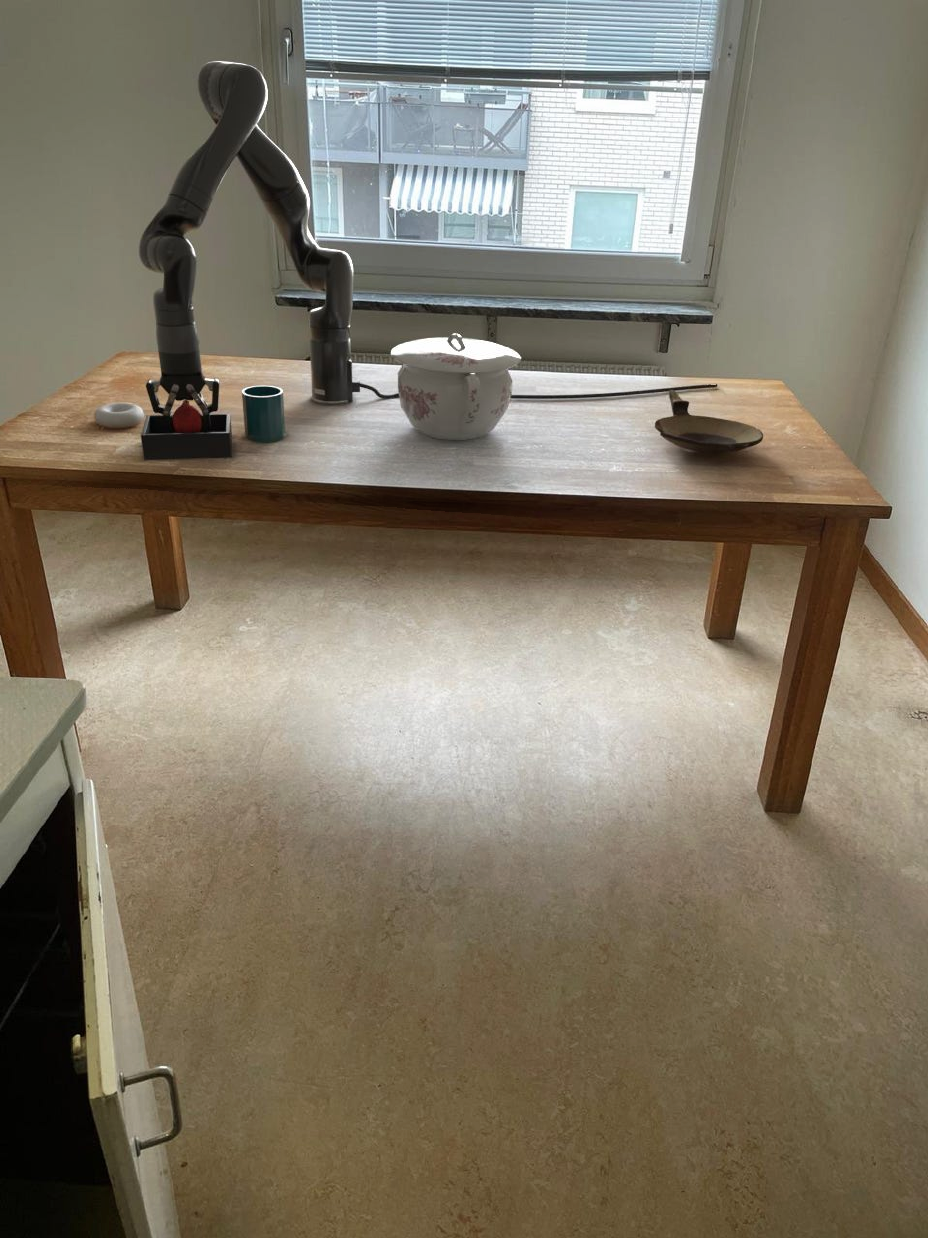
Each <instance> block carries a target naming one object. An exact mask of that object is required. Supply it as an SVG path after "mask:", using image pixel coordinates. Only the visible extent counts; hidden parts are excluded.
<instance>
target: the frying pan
mask: <svg viewBox="0 0 928 1238" xmlns="http://www.w3.org/2000/svg"><path fill="white" fill-rule="evenodd" d="M668 397H669V402H670V406H671V412H672V415H671V416H666V417H662V418H659V419H657V420H655V422H654V429H655V430H656V431H658V432H659V435H660V437H662V438H663V439H664V440H666V441H668V442H669V443H671V444H673V445H675V446H678V447H680V448H683V449H685V450H688V451H690V452H695V453H700V454H725V453H732V452H738V451H742V450H745V449H749V448H751V447H754V446H757V445H758V444H760V443H762V441H763V439H764V434H763V433H764V432H763V431H762V430H761V429H759V428H756V427H755V426H753V425H750V424H748V423H744V422H740V421H737V420H731V419H725V418H719V417H714V416H713V417H712V416H707V415H703V416H702V415H695V414H690V413H689V406H690V401H689V400H684V399H682V397H680V395H679V394H678V393H677V391H674V390H670V391H668Z"/></svg>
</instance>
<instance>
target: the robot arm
mask: <svg viewBox="0 0 928 1238" xmlns="http://www.w3.org/2000/svg"><path fill="white" fill-rule="evenodd" d="M197 89H198V90H197V91H198V95H199V98H200V101H201V103H202V105H203V108H204V109H205V111H206V114H208V116H209V118H210V120H211V121H212V122H213V124H214V125H215V127H214V129H213V130H212V132H211V133H210V134H209V135H208V137H207V138H206V139H205V141H203V143H202V144H201V145H199V147H198V148H197V149H196V150H195V151H194V152H193V153H192V154H191V155H190V156H189V157H188V158H187V159H186V160H185V162H184V163H183V164H182V165H181V167H180V169H179V170H178V172H177V174H176V176H175V178H174V180H173V183H172V184H171V188H170V191H169V192H168V194H167V197H166V200H165V203H164V204H163V205H162V207H161V208H160V209H159V210H157V211H158V212H156V214H155V215H154V217H153V218H152V219H151V221H149V224H148V225H146V226H147V227H145V229H144V231H143V233H142V234H141V237H140V240H139V243H138V257H139V259H140V262H141V263H142V265H143V266H144V267H145V268H146V269H147V270H149V271H151V272H153V273H157V274H162V275H163V283H162V284H163V285H162V287H160V288H157V289H156V290H155V291H154V292H153V295H152V303H153V310H154V319H155V335H156V344H157V352H158V360H159V366H160V374H161V375H160V378H159V379H155V380H152V379H148V380H146V383H145V388H146V391H147V395H148V399H149V402H150V405H151V409H152V411H153V413H155V414H159V415H163V416H164V421H165V428H166V430H167V431H169V432H170V433H174V427H173V422H172V415H173V413H172V412H171V411H172V409H173V406H174V404H175V401H176V402H182V401H184V400H188V401H189V402H190V401H194V402H195V404H196V405H197V406H198V408H199V409H200V411H201V414H202V422H203V430H204V432H208V430H210V428H211V423H210V414H212V413H213V412H216V413H217V412H218V410H219V397H220V379H219V378H216V377H215V378H214V379H212V378H206V377H205V376H204V374H203V367H202V359H201V351H200V350H201V349H200V339H199V335H198V330H197V329H198V328H197V326H196V319H195V310H194V302H193V297H194V291H195V283H196V275H197V266H198V265H197V256H196V252H195V249H194V247H193V245H192V244H191V242H190V241H189V239H188V238H186V237H185V236H186V234H188V233H190V232H193V231H198V230H199V229H200V228H201V227H202V226H203V224H204V222H205V220H206V217H207V215H208V213H209V210H210V208H211V206H212V203H213V200H214V198H215V196H216V194H217V192H218V189H219V187H220V185H221V184H222V181H223V179H224V178H225V176H226V174H227V172H228V170H229V168H230V167H231V166H232V164H233V162H234V160H235V159H236V158H237V160H238V162H239V164H240V165H241V167H242V169H243V170H244V172H245V174H246V175H247V178H248V179H249V181H250V182H251V184H252V186H253V188H254V190H255V193H256V194H257V196H258V199H259V200H260V202H261V204H262V205H263V207H264V209H265V211H266V212H267V214H268V215H269V217H270V219H271V221H272V222H273V223H274V226H275V227H276V229H277V232H278V234H279V236H280V238H281V239H282V241H283V244H284V245H285V248H286V249H287V252H288V254H289V256H290V260H291V261H292V264H293V266H294V269H295V271H296V273H297V276H298V278H299V279H300V282H301V283H302V285H303V286H304V287H305V288H307V289H308V290H309V291H312V292H316V293H323V294H325V298H324V299H325V301H324V304H323V305H322V306H320V307H317V308H313V309H312V310H310V311H309V313H308V328H309V329H308V330H309V333H308V334H309V353H310V376H311V377H310V378H311V380H310V381H311V401H313V402H315V403H317V404H320V405H321V404H322V405H329V406H330V405H332V406H333V405H344V404H348V403H353V402H354V401H353V399H354V398H353V397H354V396H353V394H354V393H361V389H366V390H369V391H372V392H373V393H374V394H375V396H377V397H378V398H380V399H384V400H385V399H386V400H387V399H395V398H399V393H398V392H397V393H394V394H393V393H392V394H382V393H380V392H379V391H378V389H377V388H375V387H374V386H372V385H369V384H365V383H362V382H360V380H359V377H358V376H353V362H352V357H351V356H352V355H351V354H352V353H351V317H352V312H353V305H354V304H353V302H354V266H353V261H352V259H351V257H350V255H349V253H347V252H346V251H343V250H339V249H332V248H327V247H326V248H324V247H320V246H319V245H318V244H317V243H316V241H315V239H314V238H313V236H312V234H311V232H310V230H309V227H308V222H309V221H308V220H309V215H310V207H311V200H310V195H309V191H308V189H307V187H306V185H305V183H304V181H303V179H302V177H301V175H300V173H299V171H298V169H297V168H296V166H295V164H294V163H293V162H292V160H291V158H289V157H288V156H287V154H285V153H284V152H283V151H282V150H281V149H280V147H279V146H277V145H276V144H275V143H274V141H272V140H271V139H270V138H269V137H268V136H267V135H266V133H264V131H262V129H261V128H260V127H259V126H258V123H259V121H260V119H261V118H262V116H263V114H264V112H265V109H266V107H267V102H268V86H267V82H266V80H265V78H264V76H263V74H262V72H261V71H260V70H258V69H257V68H256V67H254V66H252V65H249V64H246V63H239V62H231V61H222V60H221V61H220V60H217V61H216V60H215V61H210V62H209V61H208V62H207V63H205V64H204V65H203V66H201V68H200V70H199V73H198V75H197ZM711 384H712V383H709V384H708V385H707V384H696V385H694V384H693V385H685V386H684V385H683V386H674V387H664V388H663V387H662V388H653V389H642V390H631V391H619V392H604V393H603V392H602V393H582V394H511V397H510V399H512V400H513V399H519V400H523V399H524V400H526V399H527V400H562V399H564V400H565V399H567V400H568V399H594V398H609V397H610V398H611V397H623V396H635V395H645V394H655V393H656V394H657V393H667V392H668V393H669V391H670V390H674V391H676V392H678V391H687V390H698V389H712V388H717V387H718V383H715V384H716V385H711ZM205 385H206V386H207V388H208V390H209V391H210V392H212V393H211V403H210V404H208V403H207V402H206V400H205V398H204V396H203V394H202V391H203V388H204V387H205ZM159 387H161V388H162V389H163V390H164V391H165V392H166V393H167V395H168V396H167V399H166V402H165V405H162V404H161V403H160V400H159V397H158V392H159V389H160V388H159Z"/></svg>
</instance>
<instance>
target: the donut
mask: <svg viewBox="0 0 928 1238" xmlns="http://www.w3.org/2000/svg"><path fill="white" fill-rule="evenodd" d="M144 418H145V413H144V411H143V409H142V407H140V406H139V405H137V404H134V403H130V402H111V403H107V404H104V405H101V406H99V407H97V409H95V411H94V413H93V419H94V420H95V422H96V424H98V425H99V426H101V427H104V428H108V429H126V428H131V427H135V426H137V425H138V424H141V423H142V422H143V420H144Z"/></svg>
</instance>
